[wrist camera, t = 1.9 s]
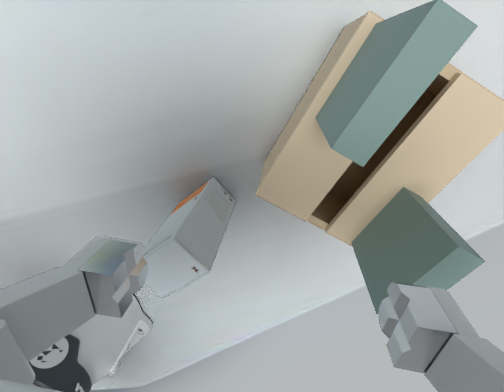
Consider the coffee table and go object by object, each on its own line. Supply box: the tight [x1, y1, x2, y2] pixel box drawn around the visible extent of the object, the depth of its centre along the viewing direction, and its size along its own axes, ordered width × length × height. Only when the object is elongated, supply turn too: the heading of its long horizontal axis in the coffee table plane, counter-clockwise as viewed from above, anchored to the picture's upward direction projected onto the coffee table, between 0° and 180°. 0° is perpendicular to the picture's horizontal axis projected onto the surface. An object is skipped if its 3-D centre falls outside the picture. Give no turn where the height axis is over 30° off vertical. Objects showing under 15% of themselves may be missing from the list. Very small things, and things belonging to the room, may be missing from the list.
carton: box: [259, 11, 504, 230], centre depth 23 cm, size 14×11×8 cm
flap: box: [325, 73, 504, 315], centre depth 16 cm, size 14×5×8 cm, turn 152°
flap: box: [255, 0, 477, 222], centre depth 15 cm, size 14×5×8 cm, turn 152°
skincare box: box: [143, 177, 236, 298], centre depth 27 cm, size 6×4×12 cm
